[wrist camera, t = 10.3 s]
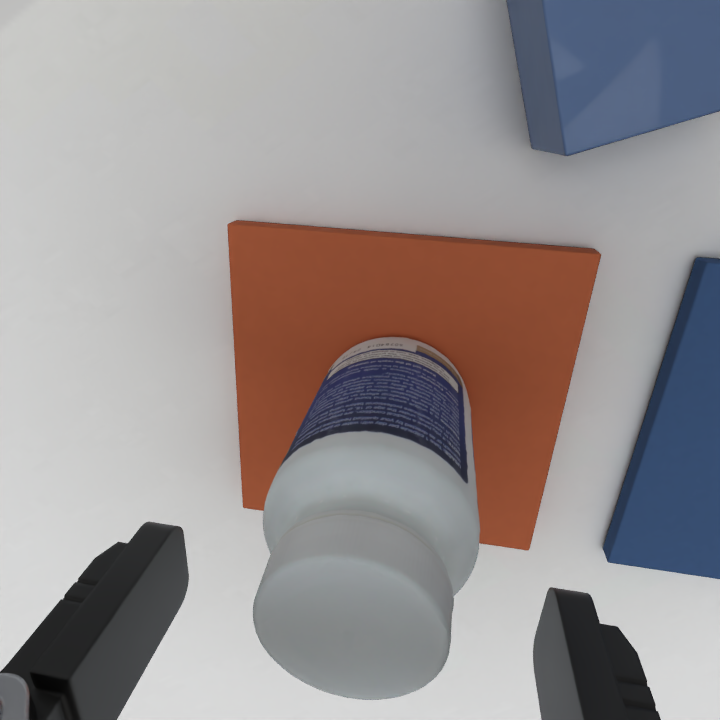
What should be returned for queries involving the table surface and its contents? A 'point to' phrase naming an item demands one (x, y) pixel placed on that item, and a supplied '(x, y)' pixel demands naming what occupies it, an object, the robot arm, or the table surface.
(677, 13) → the blue block
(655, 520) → the blue mat
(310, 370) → the terracotta mat
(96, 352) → the table surface
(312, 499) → the pill bottle
